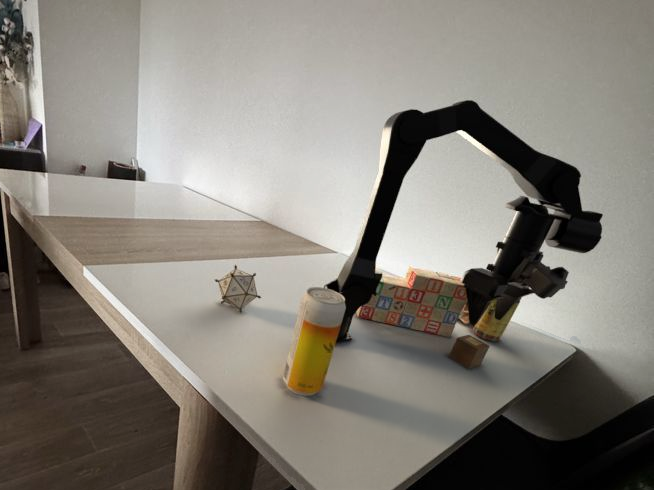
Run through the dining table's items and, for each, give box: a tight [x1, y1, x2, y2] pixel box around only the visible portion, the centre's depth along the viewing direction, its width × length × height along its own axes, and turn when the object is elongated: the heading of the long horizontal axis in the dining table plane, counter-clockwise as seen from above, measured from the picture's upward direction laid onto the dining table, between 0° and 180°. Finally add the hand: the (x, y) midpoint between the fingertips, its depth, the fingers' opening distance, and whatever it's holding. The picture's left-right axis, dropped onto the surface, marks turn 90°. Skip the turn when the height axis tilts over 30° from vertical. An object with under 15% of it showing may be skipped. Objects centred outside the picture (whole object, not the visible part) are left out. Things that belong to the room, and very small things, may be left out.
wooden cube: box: [448, 334, 491, 370], centre depth 77 cm, size 4×4×5 cm
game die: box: [214, 264, 262, 314], centre depth 78 cm, size 9×8×10 cm
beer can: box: [282, 286, 346, 397], centre depth 56 cm, size 6×6×15 cm
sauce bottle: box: [472, 298, 522, 342], centre depth 88 cm, size 6×6×20 cm
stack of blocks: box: [356, 266, 467, 338], centre depth 87 cm, size 21×6×12 cm, turn 86°
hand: (485, 321), depth 74 cm, fingers open, 9 cm apart
